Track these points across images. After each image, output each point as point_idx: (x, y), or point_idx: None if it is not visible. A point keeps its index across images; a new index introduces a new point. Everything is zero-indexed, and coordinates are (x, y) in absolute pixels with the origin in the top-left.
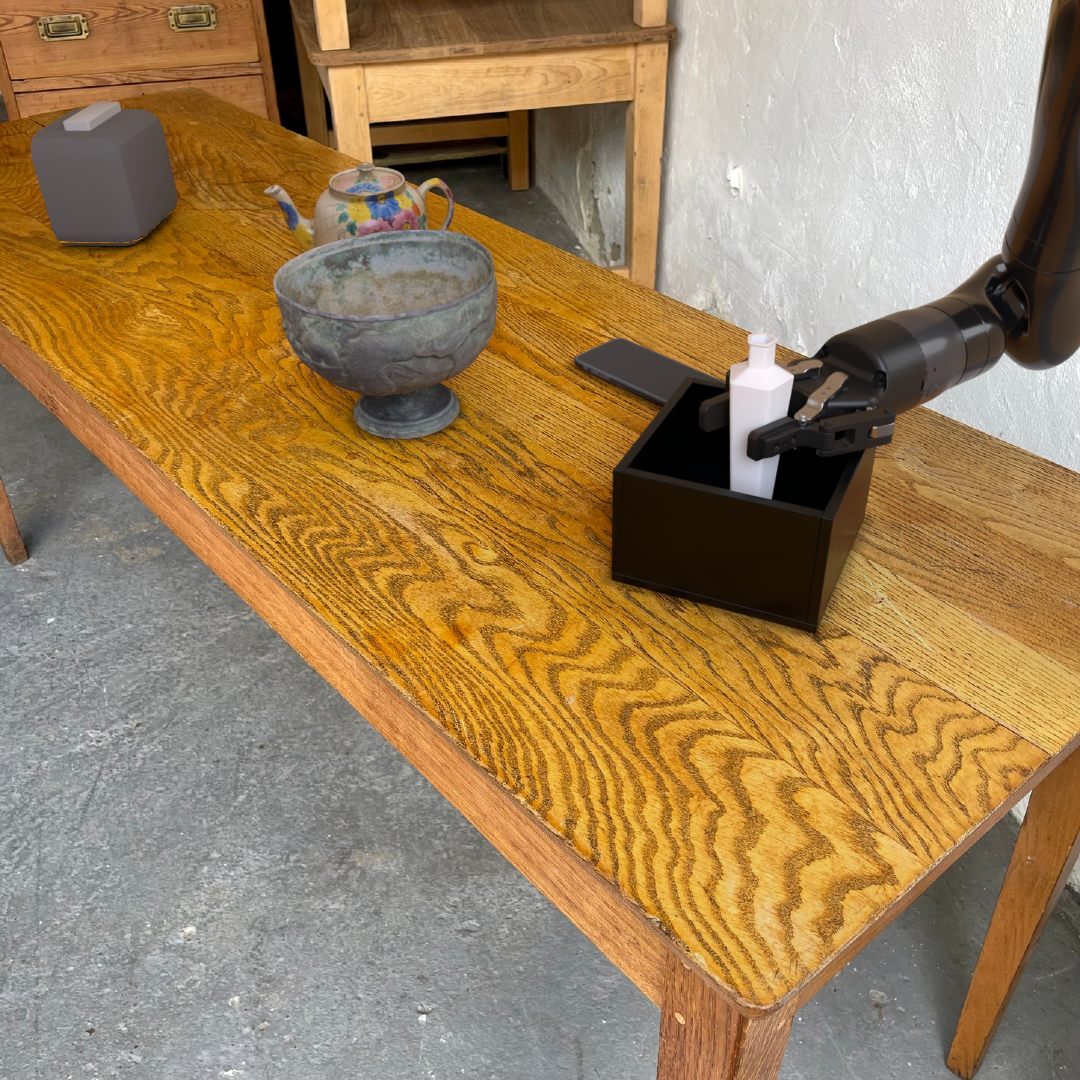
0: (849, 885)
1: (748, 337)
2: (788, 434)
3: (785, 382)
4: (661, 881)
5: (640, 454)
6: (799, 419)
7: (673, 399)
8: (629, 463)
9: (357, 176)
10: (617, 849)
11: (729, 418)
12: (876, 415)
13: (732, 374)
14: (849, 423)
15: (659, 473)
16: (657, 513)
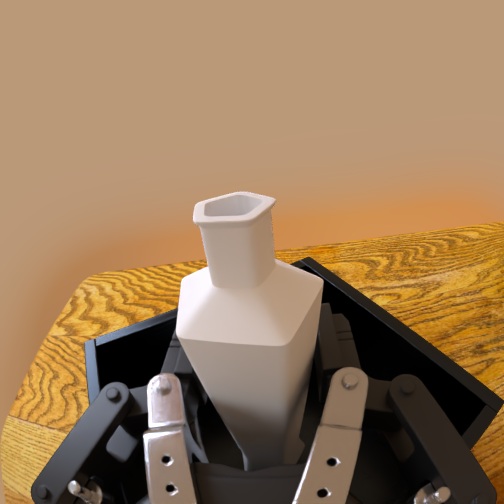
0: (70, 312)
1: (261, 195)
2: (166, 355)
3: (178, 310)
4: (129, 276)
5: (331, 288)
6: (161, 373)
7: (441, 358)
8: (311, 268)
9: None
10: (150, 272)
11: (317, 370)
12: (54, 466)
13: (279, 260)
14: (82, 415)
15: (371, 375)
16: None
